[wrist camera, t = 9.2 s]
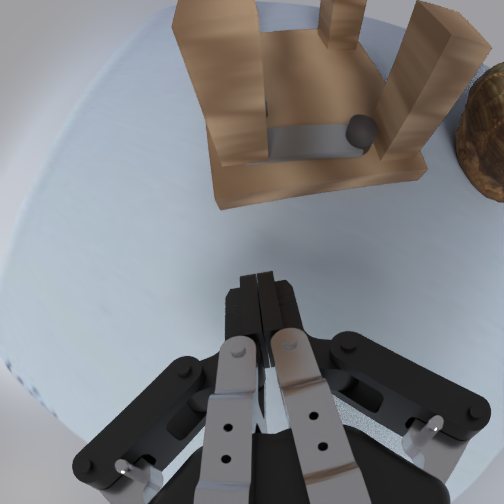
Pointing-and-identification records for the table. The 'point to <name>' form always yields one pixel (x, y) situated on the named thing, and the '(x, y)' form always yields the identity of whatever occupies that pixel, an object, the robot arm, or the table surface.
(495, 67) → the shell
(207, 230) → the table surface
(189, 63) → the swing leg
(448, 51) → the wooden peg stand
